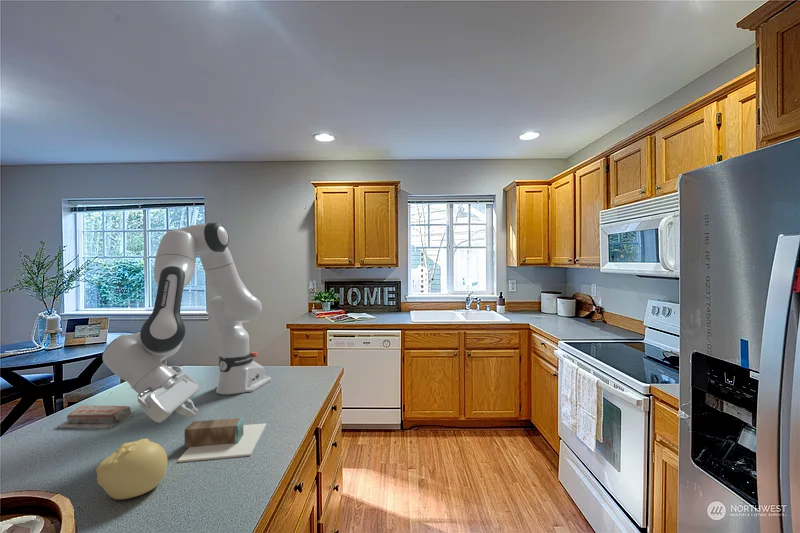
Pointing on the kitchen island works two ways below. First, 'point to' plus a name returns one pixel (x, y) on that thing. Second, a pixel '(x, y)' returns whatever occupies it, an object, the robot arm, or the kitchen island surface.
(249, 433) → the cream mat
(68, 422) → the packaged product
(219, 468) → the kitchen island surface
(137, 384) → the robot arm
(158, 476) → the sculpture
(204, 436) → the walnut block
